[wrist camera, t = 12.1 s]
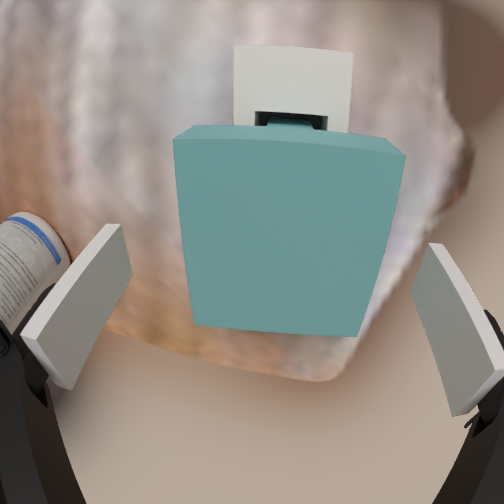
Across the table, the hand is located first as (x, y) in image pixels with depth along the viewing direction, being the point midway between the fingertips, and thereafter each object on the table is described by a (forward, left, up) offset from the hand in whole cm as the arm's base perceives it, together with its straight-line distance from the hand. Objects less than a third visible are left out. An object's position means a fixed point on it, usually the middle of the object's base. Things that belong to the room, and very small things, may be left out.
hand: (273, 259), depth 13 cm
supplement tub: (-24, -7, -9) cm, 26 cm away
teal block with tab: (0, 0, -9) cm, 9 cm away
